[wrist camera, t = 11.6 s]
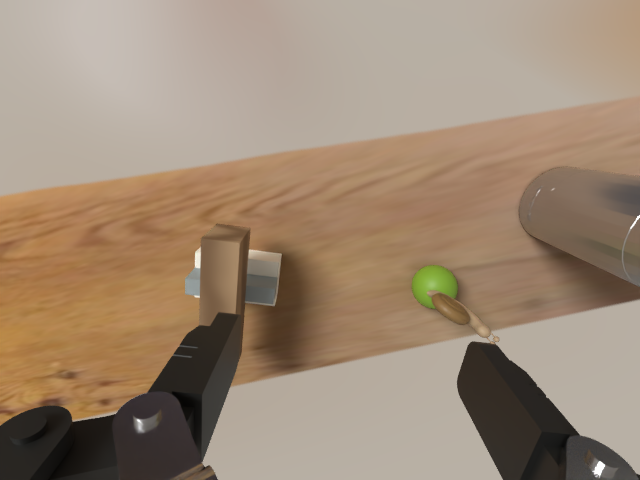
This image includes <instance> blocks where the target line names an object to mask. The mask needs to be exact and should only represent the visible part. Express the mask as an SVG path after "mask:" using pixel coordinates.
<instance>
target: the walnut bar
mask: <svg viewBox="0 0 640 480" xmlns="http://www.w3.org/2000/svg"><path fill="white" fill-rule="evenodd" d="M249 241H250V228H247V227H240V226H232V225H224V224H216V225H215V226H214V227H213V228H212V229H211V230H210V231H209V232H207V233H206V234H205V235H204V236H203V237H202V238H201V261H200V308H199V325H204V326H210V325H211V323H212V322H213V320H214V318H215V317H216V315H217V313H218V312H223V313H232V314H240V315H241V335H240V353H239V359H240V356H241V352H242V339H243V325H244V311H245V297H246V283H247V269H248V255H249ZM238 362H239V360H238Z"/></svg>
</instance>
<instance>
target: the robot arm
mask: <svg viewBox="0 0 640 480" xmlns="http://www.w3.org/2000/svg"><path fill="white" fill-rule="evenodd" d="M519 216H520V221H521V224H522V226H523V228H524V229H525V230H526V231H527V232H528V233H529V234H530V235H532V236H533V237H535V238H537V239H539V240H542V241H544V242H546V243H548V244H550V245H552V246H554V247H556V248H558V249H560V250H562V251H564V252H567V253H569V254H571V255H573V256H575V257H577V258H579V259H581V260H584V261H586V262H588V263H590V264H592V265H594V266H596V267H598V268H601V269H603V270H605V271H607V272H609V273H611V274H613V275H615V276H617V277H620V278H622V279H624V280H626V281H628V282H630V283H632V284H634V285H637V286H639V287H640V176H634V175H626V174H619V173H611V172H604V171H597V170H589V169H581V168H573V167H559V168H555V169H551V170H549V171H547V172H545V173H543V174H542V175H540V176H539V177H537V178H536V179H535V180H534V181H533V182H532V183H531V184H530V185H529V187H528V188H527V189H526V191H525V192H524V195H523V197H522V199H521V203H520V207H519ZM240 335H241V315H240V314H232V313H223V312H218V313H217V315H216V317H215V318H214V320H213V322H212V323H211V325H210V326H204V325H199V326H198V327H196V328H195V329H193V330H192V331H191V332H189V333H188V334H187V335H186V336H185V338H184V339H183V341H182V342H181V344H180V347H178V348H177V350H176V351H175V353H174V355H173V356H172V357H171V358H170V360H169V361H168V363H167V364H166V366H165V367H164V369H163V370H162V372H161V373H160V375H159V376H158V378H157V379H156V381H155V382H154V384H153V385H152V386H151V388H150V389H149V391H148V392H147V393H144V394H141V395H139V396H136V397H135V398H133V399H131V400H129V401H128V402H126V403H125V404H124V405H123V406H122V407H121V408H120V409H119V410H118V411H117V413H116V414H114V415H111V416H106V417H100V418H95V419H88V420H82V421H76V422H72V416H71V414H70V412H69V411H68V410H67V409H65V408H63V407H60V406H43V407H38V408H34V409H31V410H28V411H25V412H23V413H21V414H19V415H17V416H15V417H13V418H11V419H9V420H8V421H6V422H5V423H3V424H2V425H1V426H0V480H218V479H217V477H216V474H215V472H214V470H213V469H212V467H210V466H207V467H204V465H203V463H202V462H203V459H204V456H205V454H206V451H207V448H208V445H209V443H210V440H211V437H212V435H213V431H214V429H215V426H216V423H217V421H218V418H219V415H220V412H221V410H222V407H223V405H224V402H225V399H226V396H227V394H228V391H229V388H230V386H231V383H232V380H233V377H234V375H235V372H236V369H237V365H238V360H239V353H240ZM457 388H458V392H459V395H460V398H461V399H462V401H463V404H464V405H465V407H466V409H467V411H468V413H469V415H470V417H471V419H472V421H473V423H474V424H475V426H476V429H477V430H478V432H479V434H480V436H481V438H482V440H483V442H484V444H485V446H486V448H487V450H488V452H489V453H490V455H491V457H492V459H493V461H494V463H495V465H496V467H497V469H498V471H499V473H500V475H501V476H502V478H503V480H640V475H638V474H636V473H635V471H634V470H633V469H632V467H631V466H630V465H629V464H628V463H627V462H626V461H625V460H624V459H623V458H622V457H621V456H620V455H618V454H617V453H616V452H614V451H613V450H612V449H610V448H609V447H607V446H605V445H604V444H602V443H600V442H598V441H596V440H593V439H591V438H588V437H584V436H580V435H579V433H578V432H577V431H576V430H575V429H574V428H573V426H572V425H571V424H570V423H569V422H568V421H567V419H566V418H565V417H564V416H563V415H562V414H561V412H560V411H559V410H558V409H557V408H556V407H555V405H554V404H553V403H552V402H551V401H550V400H549V398H546V395H545V394H544V392H543V391H542V390H541V389H540V388H539V387H537V384H536V383H535V382H534V381H533V380H532V378H531V377H530V376H529V375H528V374H527V372H525V371H524V370H523V369H521V368H520V367H518V366H517V365H516V364H515V363H513V362H512V361H510V360H509V359H508V358H507V357H506V356H505V354H504V353H503V352H502V351H501V350H500V348H499V347H498V346H497V345H496V344H491V343H482V342H471V343H470V344H469V345H468V347H467V350H466V353H465V356H464V360H463V363H462V366H461V369H460V372H459V375H458V380H457Z"/></svg>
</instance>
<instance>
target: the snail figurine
mask: <svg viewBox="0 0 640 480" xmlns="http://www.w3.org/2000/svg"><path fill="white" fill-rule="evenodd" d="M412 292H413V294H414V296H415V298H416V299H417V301H418V302H419V303H420V304H422V305H423V306H425V307H428V308H431V309H437V310H438V311H439V312H440V313H441V314H442V315H444V316H445V317H446V318H448V319H449V320H451V321H453V322H455V323H457V324H460V325H465V324H467V323H468V324H469V325H470V326H471V327H472V328H474V329H475V330H476V332H477V334H478V335H479V336H481V337H484V338H487V337H489V336H490V334H492V333H491V331H490V329H489V328H488V327H487V326H486V325H484V324H483V323H482V322H481V320H480V319H479V318H478V317H477V316H476V315H475V314H474V313H473V312H471V311H470V310H469V309H468V308H466V307H465V306H464V305H463V304H462V303H460V302H458V301H457V300H455V298H456V295H457V292H458V285H457V281H456V278H455V277H454V275H453V274H452V273H451V272H450V271H449V270H448V269H446V268H444V267H442V266H438V265H429V266H426V267H423V268H422V269H420V270H419V271H418V272H417V273H416V274H415V276H414V278H413V280H412ZM492 335H493V334H492ZM487 339H488V338H487ZM493 339H494V341H495V342H499V338H498V337H495V336H494V338H493ZM488 340H489V339H488ZM489 341H490V340H489ZM495 342H490V343H491V344H495Z"/></svg>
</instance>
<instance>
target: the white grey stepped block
mask: <svg viewBox="0 0 640 480" xmlns="http://www.w3.org/2000/svg"><path fill="white" fill-rule="evenodd" d="M281 257H282V254H280V253H272V252H264V251H256V250H249V255H248V269H247V283H246V297H245V303H251V304H260V305H269V306H275V303H276V299H277V294H278V285H279V276H280V266H281ZM200 261H201V247H200V248H199V249H198V250H197V251H196V252H195V268H194V269H193V270H192V272H191V273H190V274H189V275H188V276H187V277H186V278H185V294H187V295H195V297H199V298H200Z"/></svg>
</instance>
